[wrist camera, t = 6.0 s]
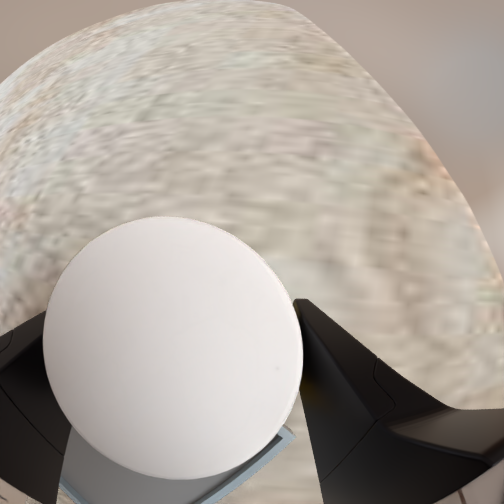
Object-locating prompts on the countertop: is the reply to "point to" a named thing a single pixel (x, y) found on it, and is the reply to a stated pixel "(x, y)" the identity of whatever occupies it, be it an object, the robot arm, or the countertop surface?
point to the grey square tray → (147, 487)
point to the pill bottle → (172, 348)
